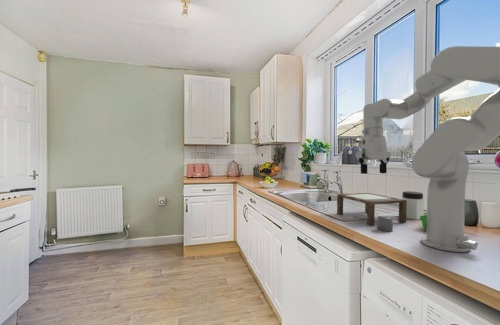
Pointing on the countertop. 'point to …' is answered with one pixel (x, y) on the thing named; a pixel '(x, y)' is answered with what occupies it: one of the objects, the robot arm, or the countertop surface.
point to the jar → (414, 204)
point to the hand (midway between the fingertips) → (373, 173)
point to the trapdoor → (370, 197)
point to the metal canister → (385, 223)
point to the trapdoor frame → (373, 206)
